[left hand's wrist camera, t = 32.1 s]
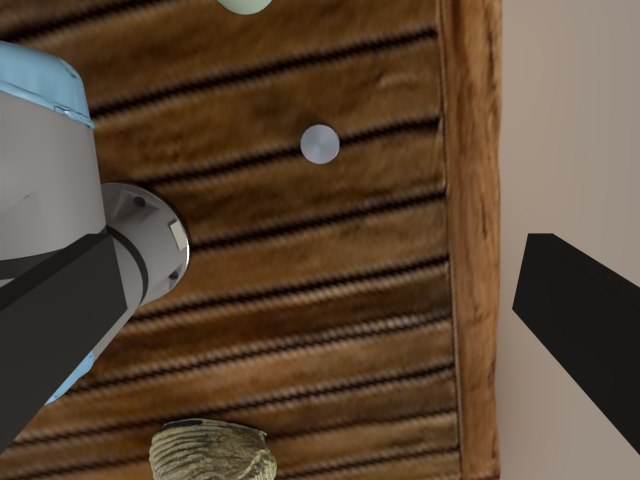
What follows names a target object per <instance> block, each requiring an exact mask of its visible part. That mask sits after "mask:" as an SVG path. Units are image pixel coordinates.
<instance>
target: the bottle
mask: <svg viewBox="0 0 640 480" xmlns="http://www.w3.org/2000/svg"><path fill="white" fill-rule="evenodd" d="M217 1H218V2H219V3H221V4H222V5H223V6H224V7H226V8H227V9H228V10H230V11H232V12H235V13H238V14H253V13H256V12H258V11H260V10H262V9H264V8H265V7H266V6H267V5H268V4H269V3H270V2H271V0H217Z"/></svg>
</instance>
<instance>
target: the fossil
mask: <svg viewBox="0 0 640 480" xmlns="http://www.w3.org/2000/svg"><path fill="white" fill-rule="evenodd" d="M265 437H266V433H264V432H262V431H260V430H258V429H253V428H249V427H246V426H242V425H238V424H234V423H227V422H223V421H217V420H209V419H187V420H181V421H174V422H170V423H167V424H164V426H163V428H162V429H161V430H160V431H158V432H157V433H156V434H154V436H153V438H152V446H151V448H150V458H149V460H150V462H151V467H152V470H153V478H154V479H155V480H274V477H275V474H276V467H277V464H276V461H275V458H274V456H273V454H272V453H271V450H270V448H269V447H268V446H267V445H266V444H265Z"/></svg>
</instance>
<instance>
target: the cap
mask: <svg viewBox="0 0 640 480" xmlns="http://www.w3.org/2000/svg"><path fill="white" fill-rule="evenodd" d="M338 138H339V137H338V136H337V134H336V131H335V130H334V129H333V127H331V126H329V125H327V124H325V123H320V122H319V123H316V124H315V123H314V124H313V125H310V126H309V127H308V128H306V130H305V132H303V136H302V137H301V142H300V144H301V150H302V153H303V155H304V156H305V157H306V158H307V159H308V160H309V161H310V162H312V163H315V164H324V163H327V162H329V161H331V160H332V159H333V158H334V157H335V156H336V154H337V153H338V150H339V143H340V142H339V139H338Z"/></svg>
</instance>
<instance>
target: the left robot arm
mask: <svg viewBox="0 0 640 480" xmlns="http://www.w3.org/2000/svg"><path fill="white" fill-rule="evenodd" d="M93 129H95V126H94V123H93V122H92V120H90V116H89V111H88V106H87V101H86V96H85V91H84V87H83V83H82V80H81V78H80V76H79V74H78V73H77V71H76V70H75V69H74V68H73V67H72V66H71V65H69V64H68V63H67V62H65V61H64V60H62V59H60V58H58V57H56V56H54V55H51V54H48V53H45V52H42V51H39V50H35V49H32V48H28V47H24V46H20V45H16V44H12V43H8V42H4V41H0V455H1V454H2V453H3V451H4V450H5V449H6V448H7V447H8V446H9V445H10V443H11V442H12V441H13V440H14V439H15V438H16V437H17V435H18V434H19V433H20V432H21V431H22V430H23V429H24V427H25V426H26V425H27V424H28V423H29V422H30V421H31V419H32V418H33V417H34V416H35V415H36V414H37V413H38V411H39V410H40V409H41V408H42V407H43V406H44V405H46V404H48V403H50V402H52V401H54V400H55V399H57V398H59V397H60V396H61V395H63V394H64V393H65V392H66V391H67V390H68V389H69V388H70V387H71V386H72V385H73V384H74V383H75V381H76V380H77V379H78V378H79V377H81V376H82V375H84V374H85V373H87V372H88V371H89V370H90V368H91V367H92V365H93V363H94V361H95V360H96V359H97V358H98V356H99V355H100V354H101V353H102V351H103V350H104V349H105V348H106V346H107V345H108V344H109V343H110V341H111V340H112V339H113V338H114V336H115V335H116V334H117V333H118V331H119V330H120V329H121V328H122V326H123V325H124V324H125V323H126V322H127V320H128V319H129V318H130V317H131V315H132V314H133V313H134V312H135V310H136V309H137V308H138V307H140V306H142V305H145V304H147V303H149V302H151V301H153V300H156V299H158V298H160V297H162V296H163V295H165V294H166V293H168V292H169V291H170V290H172V289H173V288H174V287H175V286H176V285H177V284H178V283H179V281H180V280H181V278H182V277H183V276H184V274H185V273H186V271H187V269H188V267H189V264H190V261H191V255H192V242H191V236H190V233H189V230H188V227H187V225H186V223H185V221H184V219H183V217H182V216H181V214H180V213H179V211H178V210H177V209H176V208H175V207H174V206H173V205H172V204H171V203H170V202H169V201H168V200H167V199H166V198H165V197H163V196H162V195H161V194H159V193H158V192H156V191H154V190H152V189H150V188H148V187H146V186H144V185H141V184H138V183H134V182H129V181H106V182H102V183H100V178H99V171H98V164H97V157H96V150H95V143H94V135H93ZM512 309H513V311H514V312H515V313H516V314H517V315H518V316H519V318H520V319H521V320H522V321H523V322H524V323H525V324H526V326H527V327H528V328H529V329H530V330H531V331H532V332H533V334H534V335H535V336H536V337H537V338H538V339H539V340H540V342H541V343H542V344H543V345H544V346H545V347H546V348H547V350H548V351H549V352H550V353H551V354H552V355H553V356H554V358H555V359H556V360H557V361H558V362H559V363H560V364H561V366H562V367H563V368H564V369H565V370H566V371H567V372H568V374H569V375H570V376H571V377H572V378H573V379H574V380H575V382H576V383H577V384H578V385H579V386H580V387H581V388H582V390H583V391H584V392H585V393H586V394H587V395H588V396H589V398H590V399H591V400H592V401H593V402H594V403H595V404H596V406H597V407H598V408H599V409H600V410H601V411H602V412H603V414H604V415H605V416H606V417H607V418H608V419H609V421H610V422H611V423H612V424H613V425H614V426H615V427H616V429H617V430H618V431H619V432H620V433H621V434H622V435H623V437H624V438H625V439H626V440H627V441H628V442H629V443H630V445H631V446H632V447H633V448H634V449H635V450H636V451H637V453H638V454H639V455H640V287H638V286H636V285H635V284H633V283H632V282H630V281H628V280H627V279H625V278H624V277H622V276H620V275H619V274H617V273H615V272H614V271H612V270H611V269H609V268H607V267H606V266H604V265H603V264H601V263H599V262H598V261H596V260H594V259H593V258H591V257H590V256H588V255H586V254H585V253H583V252H582V251H580V250H578V249H577V248H575V247H574V246H572V245H570V244H569V243H567V242H565V241H564V240H562V239H561V238H559V237H557V236H556V235H554V234H552V233H551V234H546V233H544V234H543V233H542V234H540V233H537V234H536V233H535V234H533V233H532V234H530V233H529V234H528V237H527V242H526V247H525V251H524V256H523V260H522V265H521V270H520V274H519V279H518V284H517V288H516V293H515V298H514V303H513V307H512Z"/></svg>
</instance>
